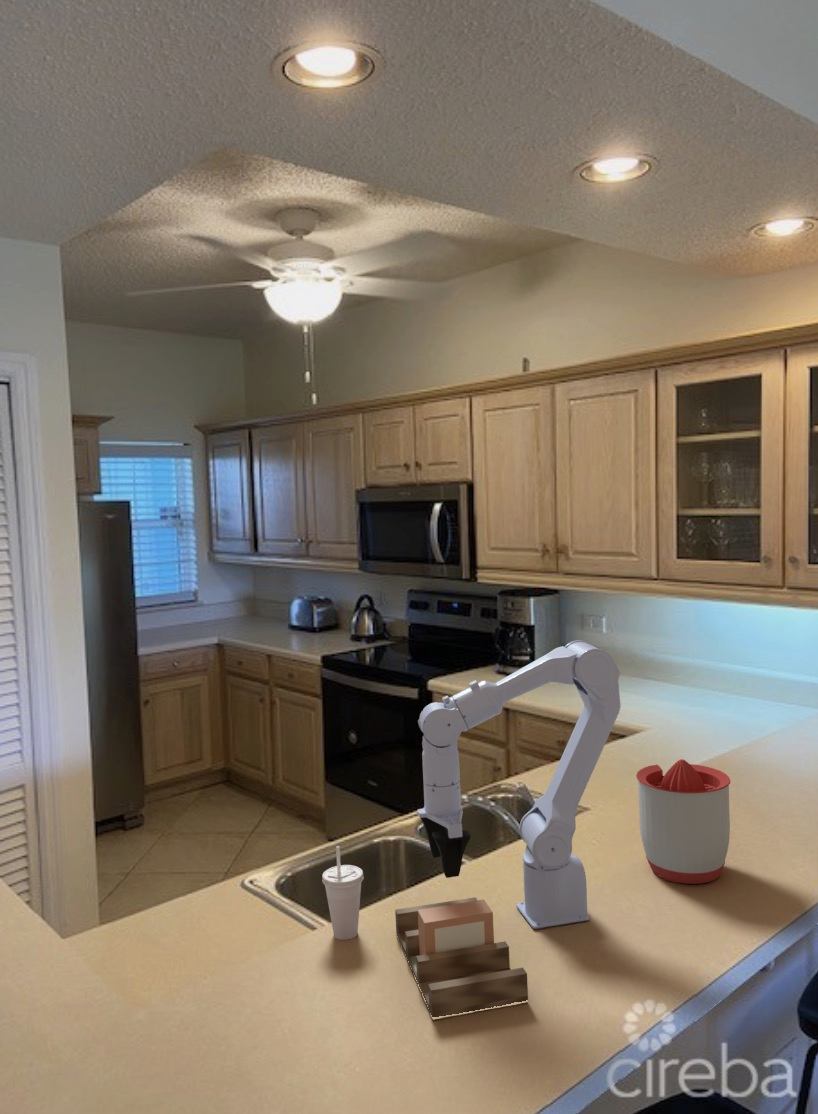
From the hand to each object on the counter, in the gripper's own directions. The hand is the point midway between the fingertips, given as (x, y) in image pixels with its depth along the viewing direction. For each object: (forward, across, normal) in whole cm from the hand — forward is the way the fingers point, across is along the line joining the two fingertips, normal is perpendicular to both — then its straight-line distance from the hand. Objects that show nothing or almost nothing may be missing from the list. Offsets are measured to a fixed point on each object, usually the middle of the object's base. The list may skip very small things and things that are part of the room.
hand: (445, 865), depth 130 cm
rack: (+9, +12, -2) cm, 15 cm away
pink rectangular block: (+8, +12, -2) cm, 15 cm away
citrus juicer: (+10, -6, +45) cm, 46 cm away
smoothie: (+10, -2, -16) cm, 19 cm away
